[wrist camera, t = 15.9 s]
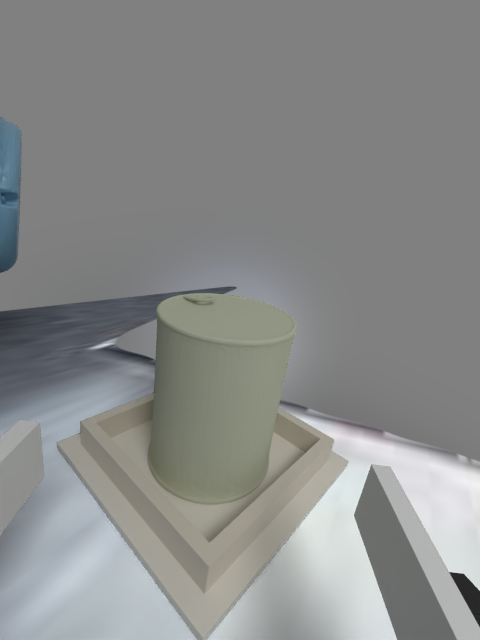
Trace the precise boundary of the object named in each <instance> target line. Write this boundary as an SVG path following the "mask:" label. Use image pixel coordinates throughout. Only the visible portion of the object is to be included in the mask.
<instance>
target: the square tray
mask: <svg viewBox="0 0 480 640" xmlns="http://www.w3.org/2000/svg"><path fill="white" fill-rule="evenodd" d="M153 402H154V393H152V394H150V395H147V396H145V397H142V398H139V399H137V400H134V401H132V402H129V403H127V404H124V405H121V406H119V407H116V408H114V409H111V410H109V411H106V412H103V413H101V414H98V415H96V416H93V417H91V418H88V419H85V420H83V421H80V433H78V434H76V435H73V436H71V437H69V438H66V439H64V440H61V441H59V442H57V448H58V449H59V451H60V452H61V453H62V455H63V456H64V458H65V459H66V460H67V462H68V463H69V464H70V466H71V467H72V468H73V470H74V471H75V473H76V474H77V475H78V477H79V478H80V479H81V481H82V482H83V483H84V485H85V486H86V488H87V489H88V490H89V492H90V493H91V494H92V496H93V497H94V498H95V500H96V501H97V503H98V504H99V505H100V507H101V508H102V509H103V511H104V512H105V513H106V515H107V516H108V518H109V519H110V520H111V522H112V523H113V524H114V526H115V527H116V529H117V530H118V531H119V533H120V534H121V535H122V537H123V538H124V539H125V541H126V542H127V544H128V545H129V546H130V548H131V549H132V550H133V552H134V553H135V554H136V556H137V557H138V559H139V560H140V561H141V563H142V564H143V565H144V567H145V568H146V569H147V571H148V572H149V574H150V575H151V576H152V578H153V579H154V580H155V582H156V583H157V584H158V586H159V587H160V589H161V590H162V591H163V593H164V594H165V595H166V597H167V598H168V599H169V601H170V602H171V604H172V605H173V606H174V608H175V609H176V610H177V612H178V613H179V615H180V616H181V617H182V619H183V620H184V621H185V623H186V624H187V625H188V627H189V628H190V630H191V631H192V632H193V634H194V635H195V636H196V638H197V639H198V640H206V639H207V638H208V637H209V636H210V634H211V633H212V632H213V631H214V630H215V628H216V627H217V626H218V625H219V623H220V622H221V621H222V620H223V618H224V617H225V616H226V615H227V614H228V612H229V611H230V610H231V609H232V607H233V606H234V605H235V604H236V602H237V601H238V600H239V599H240V597H241V596H242V595H243V594H244V593H245V591H246V590H247V589H248V588H249V586H250V585H251V584H252V583H253V581H254V580H255V579H256V578H257V577H258V575H259V574H260V573H261V572H262V570H263V569H264V568H265V567H266V565H267V564H268V563H269V562H270V560H271V559H272V558H273V557H274V556H275V554H276V553H277V552H278V551H279V549H280V548H281V547H282V546H283V544H284V543H285V542H286V541H287V540H288V538H289V537H290V536H291V535H292V533H293V532H294V531H295V530H296V528H297V527H298V526H299V525H300V523H301V522H302V521H303V520H304V519H305V517H306V516H307V515H308V514H309V512H310V511H311V510H312V509H313V507H314V506H315V505H316V504H317V503H318V501H319V500H320V499H321V498H322V496H323V495H324V494H325V493H326V491H327V490H328V489H329V488H330V486H331V485H332V484H333V483H334V482H335V480H336V479H337V478H338V477H339V475H340V474H341V473H342V472H343V470H344V469H345V468H346V467H347V465H348V462H349V461H347V460H346V459H344V458H343V457H341V456H339V455H338V454H336V453H334V452H333V451H331V450H332V446H333V443H334V439H332V438H330V437H329V436H327V435H325V434H324V433H322V432H320V431H318V430H317V429H315V428H313V427H312V426H310V425H308V424H307V423H305V422H303V421H301V420H300V419H298V418H296V417H295V416H293V415H291V414H289V413H288V412H286V411H284V410H283V409H281V408H279V407H278V411H277V416H276V421H275V426H274V431H273V436H272V441H271V446H270V452H269V467H268V471H267V474H266V476H265V478H264V480H263V481H262V482H261V484H260V485H259V486H258V487H257V488H256V489H255V490H254V491H253V492H251V493H250V494H248V495H247V496H245V497H243V498H241V499H239V500H236V501H233V502H229V503H223V504H200V503H194V502H191V501H187V500H184V499H181V498H179V497H177V496H175V495H173V494H172V493H170V492H169V491H167V490H166V489H165V488H164V487H162V486H161V485H160V484H159V482H158V481H157V480H156V479H155V477H154V476H153V474H152V472H151V469H150V467H149V463H148V449H149V445H150V442H151V432H152V417H153Z"/></svg>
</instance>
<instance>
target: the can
mask: <svg viewBox="0 0 480 640" xmlns="http://www.w3.org/2000/svg"><path fill="white" fill-rule="evenodd" d="M156 312H157V342H156V365H155V385H154V402H153V417H152V432H151V442H150V445H149V449H148V463H149V467H150V469H151V472H152V474H153V476H154V477H155V479H156V480H157V481H158V482H159V484H160V485H161V486H162V487H164V488H165V489H166V490H167V491H169V492H170V493H172V494H173V495H175V496H177V497H179V498H181V499H184V500H187V501H191V502H194V503H200V504H223V503H229V502H233V501H236V500H239V499H241V498H243V497H245V496H247V495H248V494H250V493H251V492H253V491H254V490H255V489H256V488H257V487H258V486H259V485H260V484H261V482H262V481H263V480H264V478H265V476H266V474H267V471H268V467H269V452H270V446H271V441H272V436H273V431H274V426H275V421H276V416H277V411H278V407H279V402H280V397H281V393H282V387H283V383H284V378H285V374H286V369H287V365H288V360H289V356H290V352H291V347H292V344H293V340H294V336H295V333H296V330H297V324H296V322H295V320H294V319H293V318H292V317H291V316H290V315H289V314H287V313H286V312H284V311H282V310H280V309H279V308H276V307H274V306H272V305H269V304H266V303H263V302H260V301H256V300H253V299H249V298H244V297H239V296H233V295H224V294H210V293H196V294H185V295H178V296H174V297H171V298H168V299H166V300H164V301H162V302H161V303H160V304H159V305H158V307H157V311H156Z"/></svg>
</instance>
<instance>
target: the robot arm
mask: <svg viewBox="0 0 480 640" xmlns="http://www.w3.org/2000/svg"><path fill="white" fill-rule="evenodd" d="M21 147H22V144H21V130H20V129H19V127H18V126H17V125H15V124H14V123H11V122H9V121H6V120H5V119H4V118H3V117H0V273H1V272H4V271H7V270H9V269H10V268H11V267H12V266H13V265H14V264H15V263H16V260H17V256H18V242H19V241H18V240H19V216H20V181H21ZM43 478H44V466H43V454H42V442H41V430H40V422H35V421H27V420H19V421H18V422H17V423H16V424H15V425H14V426H12V427H11V428H10V429H9V430H8V431H7V432H6V433H5V434H4V435H3V436H2V437H1V438H0V535H1V534H2V532H3V531H4V530H5V529H6V527H7V526H8V525H9V523H10V522H11V521H12V519H13V518H14V517H15V515H16V514H17V513H18V511H19V510H20V509H21V507H22V506H23V505H24V503H25V502H26V501H27V499H28V498H29V497H30V496H31V494H32V493H33V492H34V490H35V489H36V488H37V486H38V485H39V484H40V482H41V481H42V480H43ZM354 517H355V520H356V522H357V525H358V528H359V531H360V534H361V537H362V540H363V543H364V545H365V548H366V551H367V554H368V557H369V560H370V563H371V565H372V568H373V571H374V574H375V577H376V580H377V583H378V586H379V588H380V591H381V594H382V597H383V600H384V603H385V606H386V608H387V611H388V614H389V617H390V620H391V623H392V626H393V628H394V631H395V634H396V637H397V640H480V591H479V590H478V589H477V588H476V587H475V586H474V585H473V583H472V582H471V581H470V580H469V579H468V578H467V577H466V576H465V575H464V574H460V573H452V572H449V571H448V569H447V568H446V566H445V564H444V562H443V560H442V559H441V557H440V555H439V553H438V551H437V550H436V548H435V546H434V544H433V542H432V541H431V539H430V537H429V535H428V534H427V532H426V530H425V528H424V526H423V525H422V523H421V521H420V519H419V517H418V516H417V514H416V512H415V510H414V508H413V507H412V505H411V503H410V501H409V499H408V498H407V496H406V494H405V492H404V490H403V489H402V487H401V485H400V483H399V481H398V480H397V478H396V476H395V474H394V472H393V471H392V469H391V467H388V466H380V465H371V467H370V470H369V473H368V476H367V479H366V482H365V485H364V488H363V491H362V493H361V496H360V499H359V502H358V505H357V508H356V511H355V514H354Z"/></svg>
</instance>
